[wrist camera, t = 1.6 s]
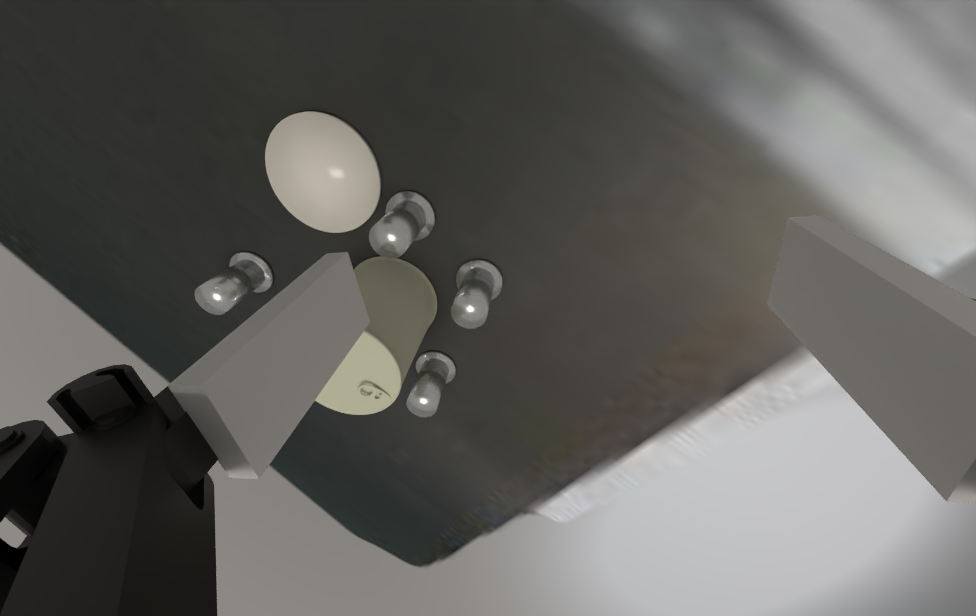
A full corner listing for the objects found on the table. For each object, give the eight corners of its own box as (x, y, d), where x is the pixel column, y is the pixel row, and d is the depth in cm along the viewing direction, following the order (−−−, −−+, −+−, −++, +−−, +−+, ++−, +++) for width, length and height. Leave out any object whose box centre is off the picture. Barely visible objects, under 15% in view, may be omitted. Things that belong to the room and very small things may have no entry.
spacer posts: (228, 294, 43) (185, 325, 38) (247, 110, 33) (192, 119, 28) (447, 387, 46) (434, 428, 41) (525, 244, 36) (521, 274, 31)
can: (408, 350, 44) (366, 437, 34) (333, 302, 42) (264, 379, 32) (455, 293, 39) (422, 372, 29) (373, 236, 37) (307, 300, 27)
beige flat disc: (262, 201, 37) (258, 203, 37) (277, 88, 32) (273, 88, 31) (365, 248, 38) (362, 250, 38) (395, 145, 33) (393, 147, 32)
